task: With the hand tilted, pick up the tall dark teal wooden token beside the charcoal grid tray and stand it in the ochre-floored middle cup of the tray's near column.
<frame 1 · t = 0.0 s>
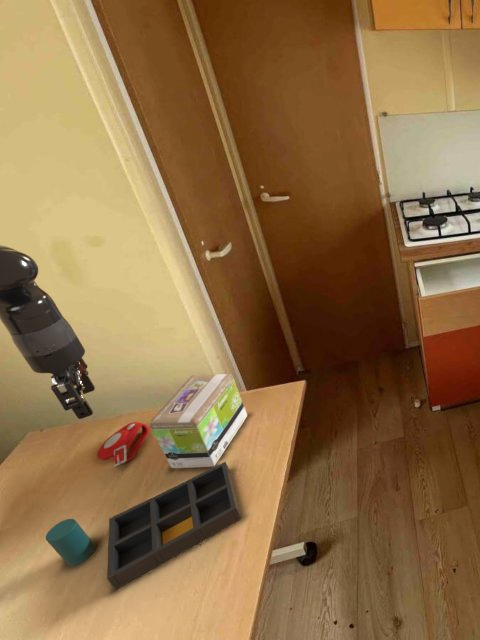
hand: (87, 403, 88), 19 cm above the table, tool pointing down, fingers open, 8 cm apart
tea box: (213, 441, 102), on the table
tracker holder: (123, 451, 100), on the table
grid: (180, 523, 85), on the table
token: (81, 554, 80), on the table
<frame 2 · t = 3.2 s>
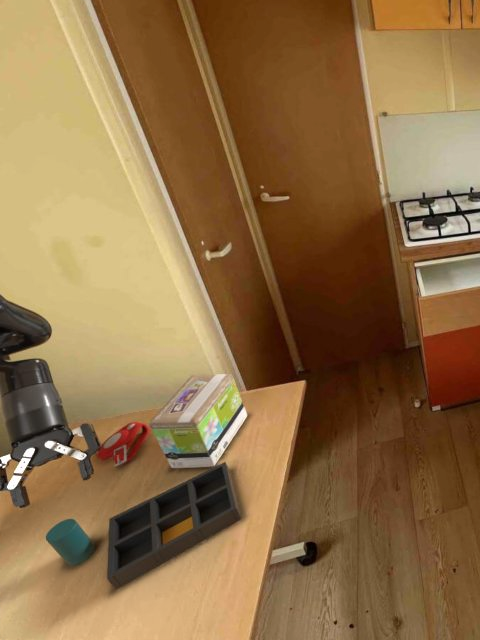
hand: (57, 492, 79), 11 cm above the table, tool tilted 45°, fingers open, 8 cm apart
nothing on the table moved.
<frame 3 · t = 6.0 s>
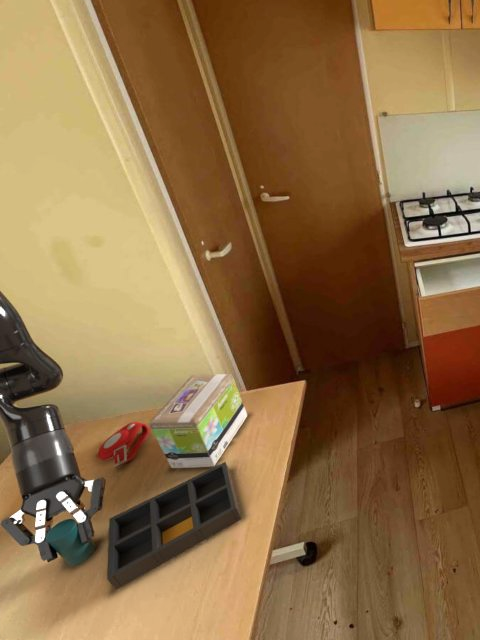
hand: (70, 550, 77), 4 cm above the table, tool tilted 45°, fingers closed on token, 4 cm apart
token: (81, 554, 80), on the table, touching gripper
everything else where it was.
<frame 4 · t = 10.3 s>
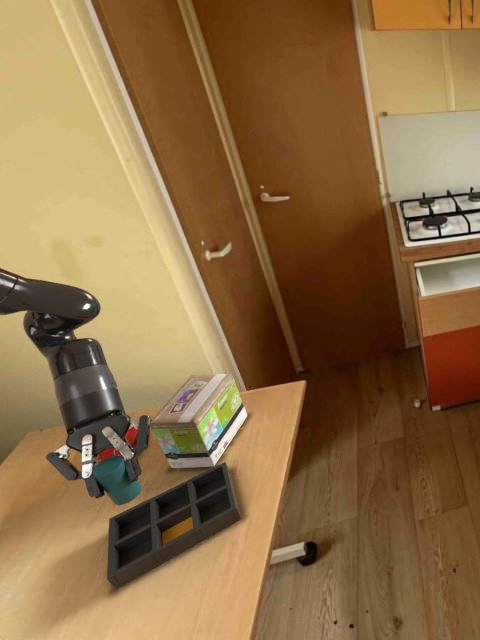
hand: (118, 488, 72), 18 cm above the table, tool tilted 45°, fingers closed on token, 4 cm apart
token: (128, 494, 76), point 14 cm above the table, touching gripper
everything else where it was.
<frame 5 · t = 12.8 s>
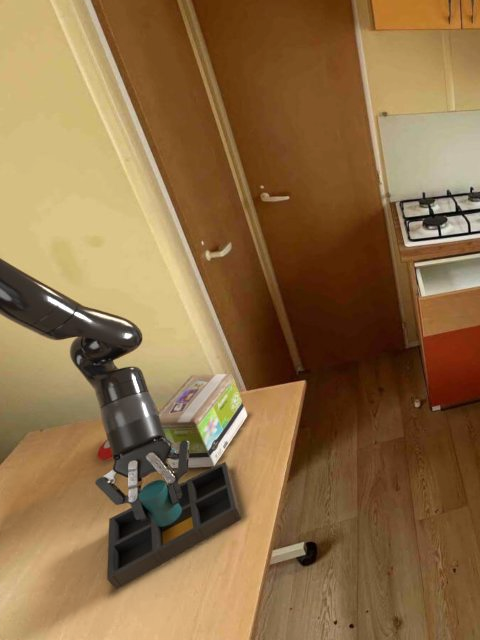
hand: (161, 511, 76), 11 cm above the table, tool tilted 45°, fingers closed on token, 4 cm apart
token: (169, 516, 80), point 7 cm above the table, touching gripper
everything else where it was.
when the fingers open (5 cm above the table, at t = 14.8 s): token stays where it is, resting on grid.
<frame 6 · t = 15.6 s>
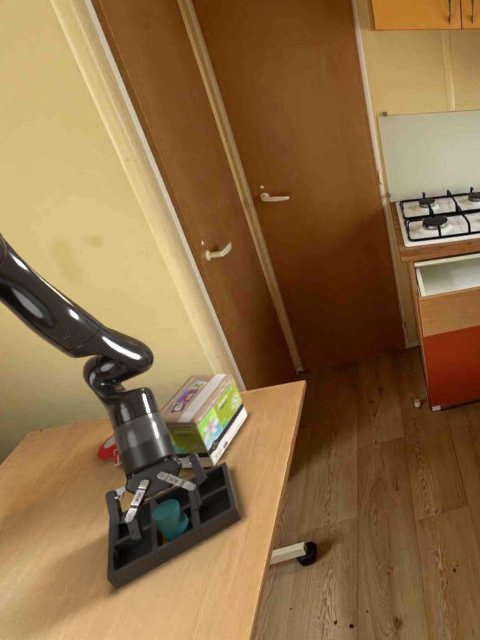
hand: (170, 524, 79), 6 cm above the table, tool tilted 45°, fingers open, 8 cm apart
token: (180, 533, 82), point 1 cm above the table, touching grid
everything else where it was.
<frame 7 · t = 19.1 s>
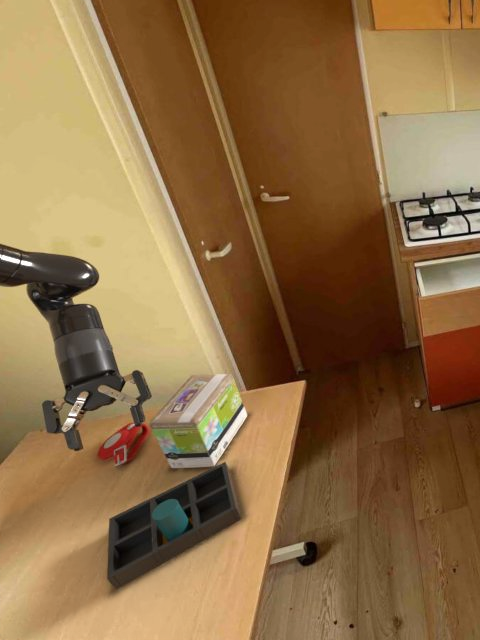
hand: (110, 437, 78), 21 cm above the table, tool tilted 45°, fingers open, 8 cm apart
nothing on the table moved.
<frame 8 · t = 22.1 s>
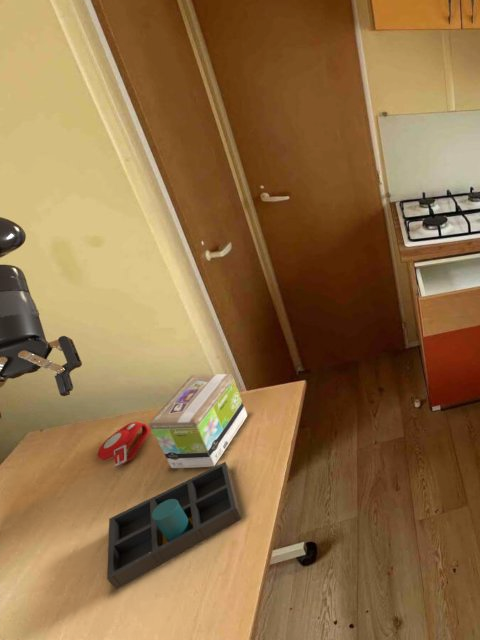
hand: (31, 406, 72), 31 cm above the table, tool tilted 45°, fingers open, 8 cm apart
nothing on the table moved.
at the end: token 0.1 cm from the target spot in the grid, point 0.8 cm above the grid's base; token tilted 0° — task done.
